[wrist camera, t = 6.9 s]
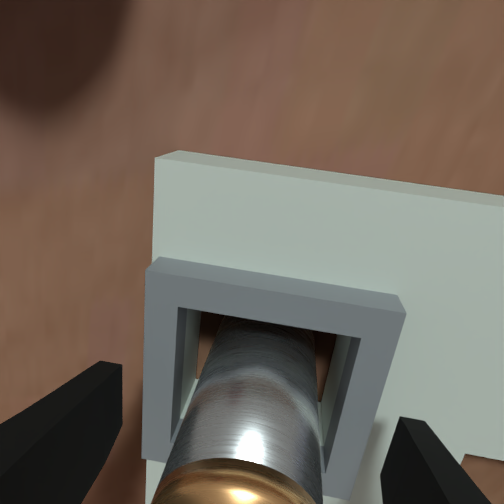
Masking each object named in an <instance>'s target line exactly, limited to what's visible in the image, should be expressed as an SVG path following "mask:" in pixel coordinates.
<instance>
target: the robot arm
mask: <svg viewBox="0 0 504 504" xmlns="http://www.w3.org/2000/svg"><path fill="white" fill-rule="evenodd" d="M121 426H122V365H121V364H116V363H110V362H105V361H99V362H97V363H96V364H94V365H92V366H91V367H89V368H88V369H86V370H85V371H83V372H82V373H80V374H79V375H77V376H76V377H74V378H73V379H71V380H70V381H68V382H67V383H65V384H64V385H62V386H61V387H59V388H58V389H56V390H55V391H53V392H52V393H50V394H48V395H47V396H45V397H44V398H42V399H41V400H39V401H37V402H36V403H34V404H33V405H31V406H30V407H28V408H27V409H25V410H23V411H22V412H20V413H18V414H17V415H15V416H13V417H12V418H10V419H8V420H7V421H5V422H3V423H1V424H0V504H81V503H82V501H83V499H84V498H85V496H86V494H87V493H88V491H89V489H90V488H91V486H92V484H93V483H94V481H95V479H96V478H97V476H98V474H99V472H100V471H101V469H102V467H103V465H104V464H105V462H106V460H107V458H108V455H109V453H110V451H111V449H112V447H113V445H114V442H115V440H116V438H117V436H118V433H119V431H120V429H121ZM380 482H381V491H382V501H383V504H491V503H490V501H489V500H488V499H487V498H486V497H485V495H484V494H483V493H482V492H481V491H480V489H479V488H478V487H477V486H476V484H475V483H474V482H473V481H472V479H471V478H470V477H469V476H468V475H467V473H466V472H465V471H464V470H463V468H462V467H461V466H460V464H459V463H458V462H457V461H456V459H455V458H454V457H453V456H452V454H451V453H450V452H449V451H448V449H447V448H446V447H445V445H444V444H443V443H442V442H441V440H440V439H439V438H438V437H437V435H436V434H435V433H434V432H433V430H432V429H431V428H430V427H429V425H428V424H427V423H426V422H425V421H423V420H418V419H413V418H407V417H402V416H400V417H399V420H398V423H397V426H396V429H395V432H394V434H393V437H392V440H391V443H390V446H389V449H388V452H387V455H386V458H385V461H384V464H383V467H382V470H381V473H380Z"/></svg>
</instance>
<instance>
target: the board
mask: <svg viewBox="0 0 504 504" xmlns="http://www.w3.org/2000/svg"><path fill="white" fill-rule="evenodd" d="M201 311H206V312H212V313H217V314H223V315H229V316H235V317H241V318H247V319H252V320H258V321H264V322H270V323H276V324H282V325H287V326H293V327H299V328H305V329H311V330H317V331H322V332H328V333H334V334H337V337H336V341H335V345H334V350H333V354H332V358H331V362H330V367H329V371H328V375H327V379H326V384H325V388H324V392H323V396H322V401H321V402H318V415H319V434H320V453H321V472H322V491H323V504H383V501H382V491H381V482H380V473H381V470H382V467H383V464H384V461H385V458H386V455H387V452H388V449H389V446H390V443H391V440H392V437H393V434H394V432H395V429H396V426H397V423H398V420H399V417H400V416H402V417H407V418H413V419H418V420H423V421H425V422H426V423H427V424H428V425H429V427H430V428H431V429H432V430H433V432H434V433H435V434H436V435H437V437H438V438H439V439H440V440H441V442H442V443H443V444H444V445H445V447H446V448H447V449H448V451H449V452H450V453H451V454H452V456H453V457H454V458H455V459H456V461H457V462H458V463H459V464H461V462H462V459H463V457H464V455H465V454H470V455H476V456H481V457H486V458H491V459H497V460H502V461H504V196H501V195H494V194H487V193H479V192H472V191H465V190H458V189H451V188H444V187H437V186H430V185H422V184H415V183H408V182H401V181H394V180H387V179H380V178H372V177H365V176H358V175H351V174H344V173H337V172H330V171H323V170H315V169H308V168H301V167H294V166H287V165H280V164H273V163H265V162H258V161H251V160H244V159H237V158H230V157H223V156H216V155H208V154H201V153H194V152H187V151H180V150H178V151H175V152H172V153H169V154H165V155H162V156H159V157H156V158H155V175H154V211H153V248H152V264H151V265H150V266H149V267H148V268H147V269H146V270H145V315H144V363H143V410H142V459H147V464H146V501H145V504H151V502H152V499H153V496H154V494H155V491H156V489H157V486H158V484H159V481H160V478H161V476H162V473H163V471H164V468H165V465H166V463H167V460H168V458H169V455H170V453H171V450H172V447H173V445H174V442H175V440H176V437H177V434H178V432H179V429H180V427H181V424H182V422H183V419H184V416H185V414H186V411H187V409H188V406H189V403H190V401H191V398H192V396H193V393H194V391H195V388H196V385H197V383H198V379H196V368H197V356H198V344H199V332H200V320H201Z"/></svg>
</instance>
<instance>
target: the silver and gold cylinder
mask: <svg viewBox="0 0 504 504" xmlns="http://www.w3.org/2000/svg"><path fill="white" fill-rule="evenodd" d="M151 504H323V491H322V472H321V453H320V434H319V415H318V395H317V376H316V357H315V341H314V335H313V332H312V330H311V329H305V328H299V327H293V326H287V325H282V324H276V323H270V322H264V321H258V320H252V319H247V318H241V317H235V316H229V315H226V316H225V317H224V318H223V320H222V322H221V324H220V326H219V329H218V331H217V334H216V336H215V339H214V342H213V344H212V347H211V349H210V352H209V354H208V357H207V360H206V362H205V365H204V367H203V370H202V373H201V375H200V378H199V380H198V383H197V385H196V388H195V391H194V393H193V396H192V398H191V401H190V403H189V406H188V409H187V411H186V414H185V416H184V419H183V422H182V424H181V427H180V429H179V432H178V434H177V437H176V440H175V442H174V445H173V447H172V450H171V453H170V455H169V458H168V460H167V463H166V465H165V468H164V471H163V473H162V476H161V478H160V481H159V484H158V486H157V489H156V491H155V494H154V496H153V499H152V502H151Z"/></svg>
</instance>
